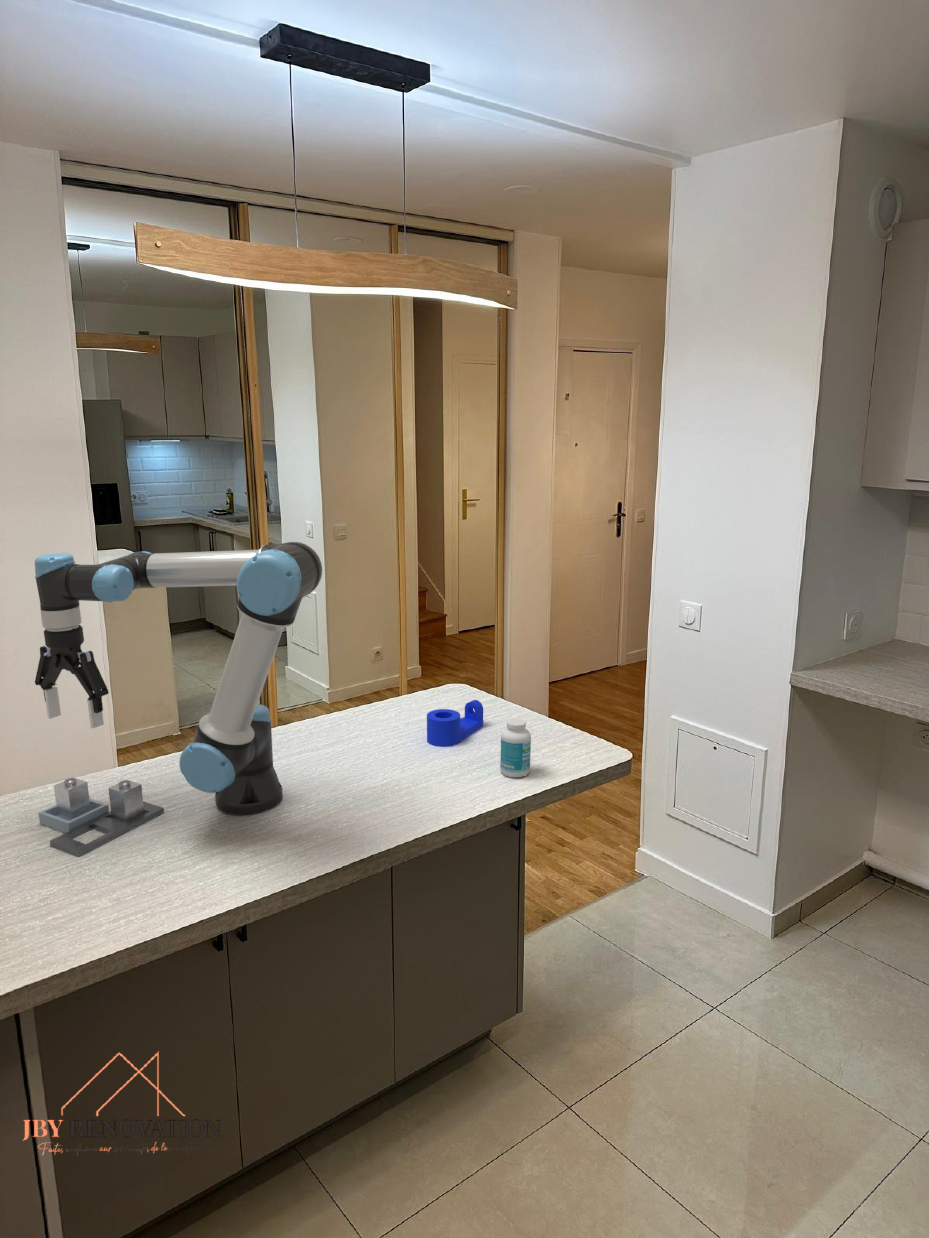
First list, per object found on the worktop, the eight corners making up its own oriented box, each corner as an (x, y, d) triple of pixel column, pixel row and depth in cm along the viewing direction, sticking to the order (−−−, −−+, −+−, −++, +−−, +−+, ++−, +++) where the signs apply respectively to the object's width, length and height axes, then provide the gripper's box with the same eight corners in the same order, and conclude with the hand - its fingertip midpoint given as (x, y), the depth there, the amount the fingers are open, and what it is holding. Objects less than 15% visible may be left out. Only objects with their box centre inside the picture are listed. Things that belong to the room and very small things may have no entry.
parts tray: (109, 815, 190) (108, 804, 190) (69, 834, 182) (68, 823, 181) (79, 805, 195) (78, 794, 194) (39, 823, 187) (38, 812, 186)
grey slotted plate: (136, 803, 196) (135, 798, 196) (163, 812, 192) (163, 807, 192) (50, 845, 177) (49, 840, 177) (78, 856, 173) (78, 851, 173)
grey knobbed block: (144, 817, 190) (140, 780, 188) (126, 826, 186) (122, 789, 184) (129, 812, 192) (126, 776, 190) (111, 821, 188) (107, 784, 186)
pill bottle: (528, 780, 209) (529, 728, 205) (498, 777, 210) (498, 726, 207) (531, 767, 216) (533, 717, 212) (502, 765, 217) (503, 715, 214)
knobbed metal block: (91, 815, 189) (87, 778, 187) (72, 824, 185) (67, 786, 183) (77, 810, 192) (72, 774, 189) (57, 819, 188) (53, 782, 185)
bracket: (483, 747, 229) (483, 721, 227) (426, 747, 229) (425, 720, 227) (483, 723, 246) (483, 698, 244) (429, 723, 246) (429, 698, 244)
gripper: (118, 628, 178) (130, 724, 183) (39, 617, 189) (52, 707, 194) (88, 637, 171) (101, 736, 177) (8, 624, 183) (22, 718, 188)
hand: (75, 721), depth 185 cm, fingers open, 13 cm apart
